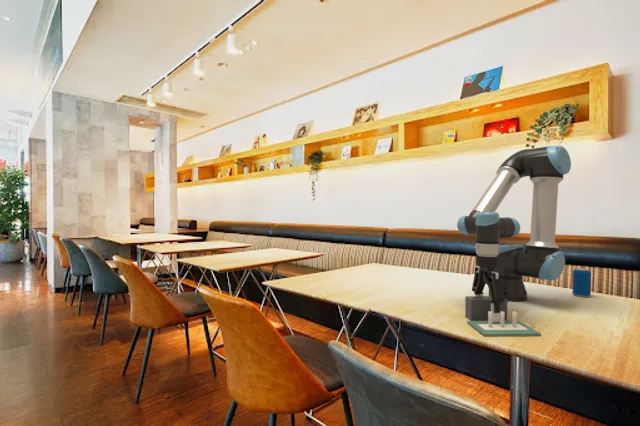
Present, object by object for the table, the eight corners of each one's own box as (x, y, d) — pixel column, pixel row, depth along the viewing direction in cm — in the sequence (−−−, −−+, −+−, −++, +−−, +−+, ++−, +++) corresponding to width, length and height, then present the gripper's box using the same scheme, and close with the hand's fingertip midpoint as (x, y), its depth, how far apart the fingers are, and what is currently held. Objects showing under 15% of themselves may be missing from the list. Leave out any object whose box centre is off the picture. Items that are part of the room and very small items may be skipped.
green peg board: (518, 323, 122) (518, 306, 122) (541, 336, 110) (541, 317, 110) (467, 323, 122) (467, 306, 122) (483, 336, 110) (484, 317, 110)
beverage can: (593, 298, 154) (594, 270, 154) (576, 297, 155) (577, 270, 155) (585, 294, 160) (586, 268, 160) (569, 293, 162) (570, 267, 161)
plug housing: (499, 316, 129) (500, 296, 129) (507, 320, 125) (507, 299, 124) (465, 316, 129) (465, 296, 129) (471, 320, 124) (471, 299, 124)
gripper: (462, 251, 137) (462, 308, 137) (493, 259, 114) (493, 327, 114) (481, 251, 138) (481, 308, 138) (516, 259, 114) (516, 327, 114)
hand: (486, 317), depth 126 cm, fingers open, 11 cm apart
